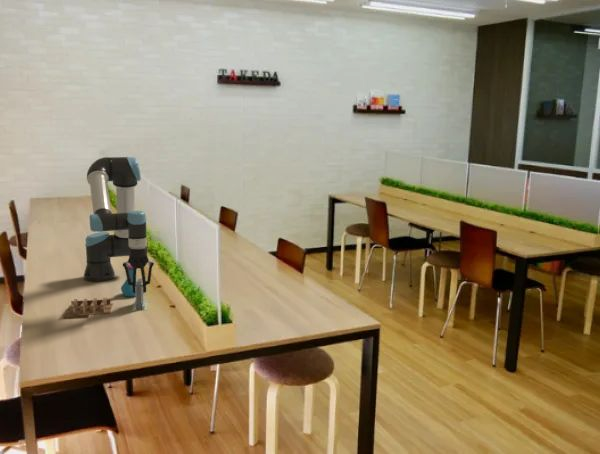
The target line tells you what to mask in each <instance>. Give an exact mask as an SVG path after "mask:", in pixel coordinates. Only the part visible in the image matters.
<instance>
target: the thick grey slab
mask: <svg viewBox="0 0 600 454" xmlns="http://www.w3.org/2000/svg"><path fill="white" fill-rule="evenodd" d="M142 284H143V282H142V278H137V284H136V293H137V310H138V311H143V310H142V304H143V301H142V291H141V286H142Z"/></svg>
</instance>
